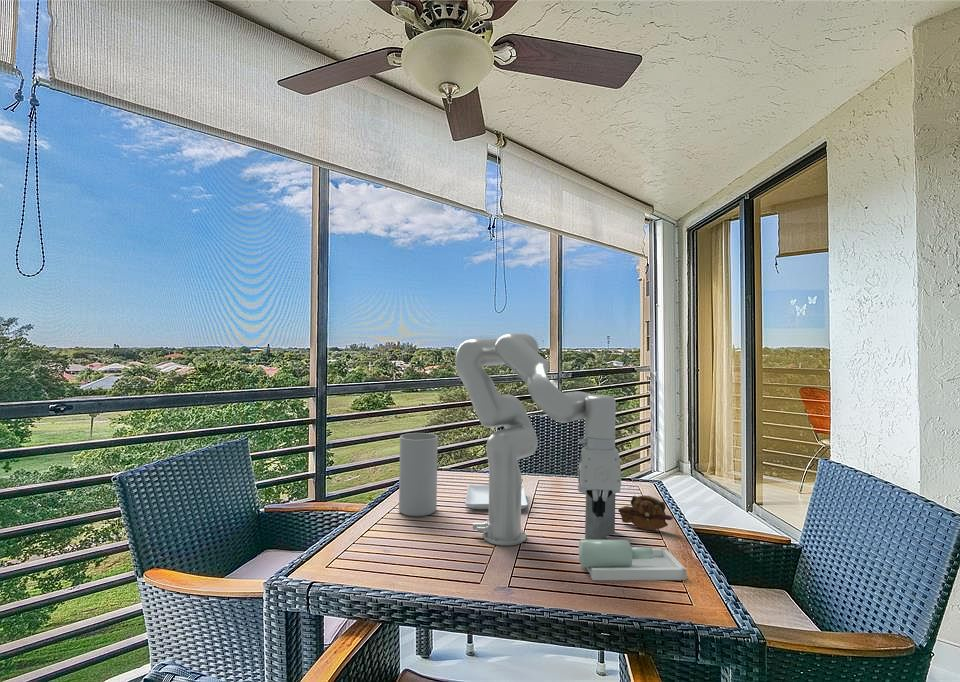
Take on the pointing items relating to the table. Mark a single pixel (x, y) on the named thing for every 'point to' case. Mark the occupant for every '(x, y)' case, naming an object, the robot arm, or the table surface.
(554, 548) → the table surface
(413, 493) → the cylinder vase
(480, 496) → the salad plate
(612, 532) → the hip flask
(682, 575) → the white rectangular tray
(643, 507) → the wooden carving
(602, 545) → the bottle
